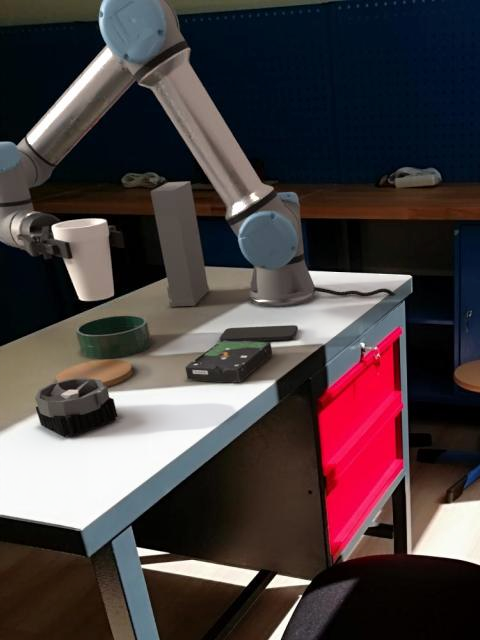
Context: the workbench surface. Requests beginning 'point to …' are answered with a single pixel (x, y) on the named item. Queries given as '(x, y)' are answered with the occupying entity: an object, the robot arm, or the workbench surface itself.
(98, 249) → the foam cup
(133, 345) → the pot
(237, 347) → the disk drive
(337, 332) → the workbench surface
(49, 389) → the cpu cooler
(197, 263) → the tall grey upright pillar
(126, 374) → the pot holder
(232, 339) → the phone
